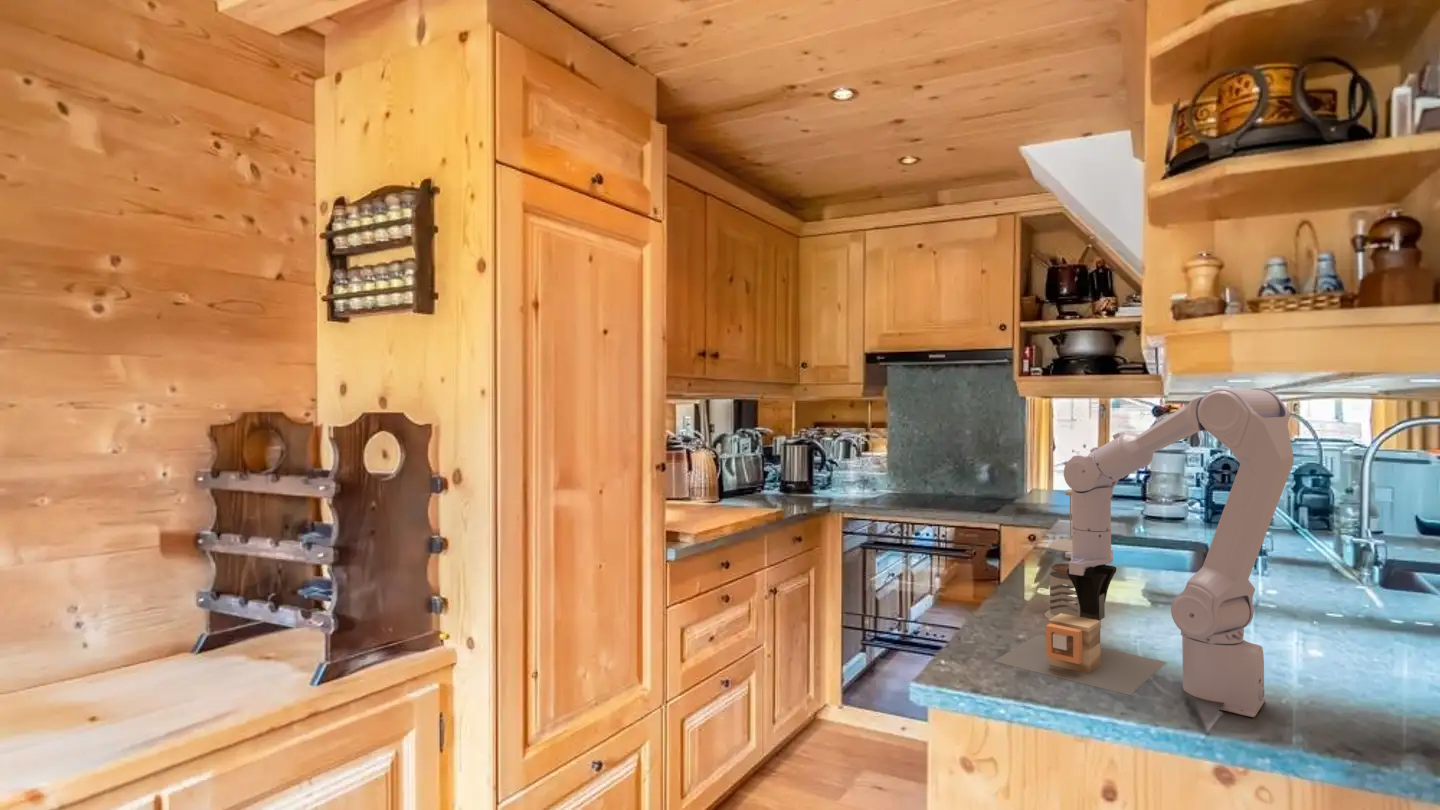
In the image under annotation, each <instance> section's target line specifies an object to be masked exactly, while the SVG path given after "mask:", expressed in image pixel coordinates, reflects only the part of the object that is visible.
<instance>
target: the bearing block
mask: <svg viewBox="0 0 1440 810" xmlns="http://www.w3.org/2000/svg"><path fill="white" fill-rule="evenodd" d="M1047 621H1048V623H1047V625H1048V624H1055V625H1060V626H1065V627H1070V628H1075V629H1080V630H1082V655H1083V662H1081V663H1080V664H1076V663H1072V662H1067V661H1063V660H1059V659H1054V658H1050V657H1049V665H1053V666H1058V667H1062V668H1066V669H1070V670H1074V671H1079V672H1083V673H1087V674H1090V673H1091V672H1093V671H1094V670H1095V669H1096V668H1098V667H1099V666H1100V665H1101V653H1100V648H1101V628H1100V621H1099V620H1094V619H1089V618H1083V617H1078V616H1073V615H1067V614H1062V613H1060V614H1058V615H1056V616H1055V617H1053V618H1051V619H1048V620H1047ZM1055 650H1056V651H1061V652H1065V653H1070V654H1073V646H1072V647H1071V648H1069V649H1068V650H1063V649H1058V648H1055Z"/></svg>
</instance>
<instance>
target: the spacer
mask: <svg viewBox="0 0 1440 810" xmlns="http://www.w3.org/2000/svg"><path fill="white" fill-rule="evenodd" d="M1054 633H1059V634H1064V635H1069V636H1073V654H1070V653H1065V652H1061V651H1056V650H1055V648H1053V634H1054ZM1045 636H1046V657H1050V658H1054V659H1059V660H1063V661H1067V662H1072V663H1076V664H1080V663H1081V662H1083V655H1082V630H1080V629H1075V628H1070V627H1065V626H1060V625H1055V624H1048V623H1047V624H1046V625H1045Z"/></svg>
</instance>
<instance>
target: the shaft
mask: <svg viewBox="0 0 1440 810" xmlns="http://www.w3.org/2000/svg"><path fill="white" fill-rule="evenodd" d="M1105 603H1106V600H1104V593H1101V592H1100V595H1099V604H1098V609H1097V613H1096V614H1095V615H1092V614H1086V613H1082V612H1081V609H1080V617H1083V618H1089V619H1094V620H1099V621H1100V629H1101V628H1102V620H1103V619H1104V618H1105V615H1106V614H1105V613H1106V612H1105V611H1106V610H1105ZM1072 646H1073V636H1069V635H1064V634H1059V633H1054V634H1053V648H1058V649H1063V650H1068V649H1069V648H1071V647H1072Z"/></svg>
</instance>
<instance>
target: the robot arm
mask: <svg viewBox="0 0 1440 810" xmlns="http://www.w3.org/2000/svg"><path fill="white" fill-rule="evenodd" d="M1291 415H1292V414H1291V411H1290V410H1289V409H1288V407H1287V406H1286V404H1285V403H1284V402H1283V401H1282V400H1281V399H1280V397H1279V396H1278V395H1277V394H1276V393H1274V392H1273V391H1271V390H1269V389H1266V388H1260V387H1259V388H1250V389H1229V388H1216V389H1213V390H1210V391H1209V392H1207V393H1206V394H1204V395H1203V396H1199V397H1196V398H1193V399H1192V400H1191V401H1189V402H1188V403H1187V404H1186V405H1184V406H1182V407H1181V408H1180V409H1178V410H1176V411H1174V412H1173V413H1172V414H1169V415H1168V416H1167V417H1165V418H1163V419H1162V420H1160V421H1158V422H1157V423H1156V424H1153V425H1152V426H1151V427H1149V428H1147V429H1146V430H1143V432H1141V433H1135V432H1131V431H1127V432H1124V431H1121V432H1119V431H1118V432H1117V433H1115V434H1113V435H1112V438H1113V439H1112V440H1111V441H1108V442H1106V443H1105V444H1103V445H1102V446H1100V447H1099V446H1095V447H1093V448H1091V449H1090V450H1089V451H1090V453H1088V455H1081V454H1080V455H1079V454H1078V455H1073V456H1072V457H1071V458H1070V459H1069V460H1068V461H1067V462H1066V463H1065V465H1064V468H1063V478H1064V482H1065V483H1066V484H1067V486H1068V487H1069V489H1072V496H1071V538H1072V552H1066V553H1064V554H1065V555H1064V557H1065V558H1069V559H1070V558H1071V561H1069V562H1068V564H1069V568H1068V569H1067V574H1068V576H1069V578H1070V579H1071V581H1072V583H1073V585H1074V588H1073V589H1074V591H1076V593H1077V595H1076V597H1078V601H1079V605H1080V609H1081V612H1082V613H1086V614H1092V615H1095V614H1096V613H1097V609H1098V604H1099V595H1100V592H1101V593H1104V600H1105V601H1106V599H1107V594H1108V591H1109V587H1110V584H1111V582H1112V580H1113V578H1114V575H1115V574H1116V572H1117V567H1116V566H1114V565H1110V564H1112V563H1113V561H1114V550H1113V549H1112V518H1111V517H1112V513H1111V511H1112V509H1111V506H1112V505H1111V504H1112V502H1111V501H1112V498H1113V496H1114V495H1113V491H1114V488H1115V486H1117V484H1118V482H1119V481H1120V480H1121V479H1123V478H1124V477H1126V476H1129V475H1131V474H1133V473H1135V472H1137V471H1138V470H1141V469H1143V468H1144V467H1146V466H1149V465H1150V464H1151V463H1152V461H1153V458H1154V453H1155V452H1158V451H1159V450H1162V449H1164V448H1166V447H1169V446H1171V445H1173V444H1175V443H1177V442H1179V441H1181V440H1184V439H1186V438H1188V437H1190V436H1192V435H1194V434H1196V433H1200V432H1208V433H1210V434H1211V435H1212V437H1214V438H1215V439H1216V440H1218V441H1219V442H1220V443H1222V445H1224V446H1225V447H1227V448H1228V449H1229V450H1230V451H1231V453H1232V454H1233V455H1234V458H1236V460H1237V461H1238V463H1239V467H1238V469H1237V472H1236V474H1235V478H1234V480H1233V483H1232V486H1231V488H1230V491H1229V494H1228V497H1227V499H1226V502H1225V505H1224V507H1223V510H1222V513H1221V516H1220V518H1219V521H1218V524H1217V527H1216V530H1215V532H1214V535H1213V537H1212V541H1211V543H1210V546H1209V548H1208V552H1207V554H1206V556H1205V560H1204V562H1203V565H1202V567H1200V569H1199V570H1198V571H1196V572H1195V573H1194V574H1193V575H1192V576H1191V577H1190V578H1189V579H1188V581H1187V582H1186V585H1185V587H1184V589H1183V590H1182V592H1180V593H1179V594H1178V595H1176V596H1175V597H1174V598H1173V600H1172V602H1171V606H1170V613H1171V618H1172V620H1173V623H1174V624H1175V625H1176V627H1177V628H1178V629H1179V630H1180V635H1181V637H1182V642H1181V643H1182V644H1181V645H1182V654H1181V655H1182V690H1183V691H1184V692H1185V693H1187V694H1189V695H1191V696H1193V697H1196V698H1199V699H1202V700H1205V701H1208V702H1209V701H1210V702H1215V703H1221V704H1222V703H1223V704H1222V706H1221V707H1220V708H1219V711H1220V710H1222V711H1225V712H1229V713H1233V714H1236V715H1237V714H1238V715H1242V716H1246V717H1249V718H1250V717H1251V718H1255V717H1256V716H1257V714H1258V712H1259V711H1260V710H1261V708H1262V707H1263V705H1264V703H1265V702H1266V698H1265V662H1264V661H1265V659H1264V658H1265V655H1264V650H1263V649H1264V648H1263V646H1262V645H1260V644H1256V643H1252V642H1249V641H1247V640H1245V639H1244V636H1245V632H1244V631H1245V629H1244V628H1246V627H1248V626H1249V625H1250V624H1251V622H1252V621H1253V618H1254V615H1255V614H1254V611H1255V610H1254V606H1253V597H1254V594H1255V591H1256V588H1255V586H1254V585H1253V584H1252V583H1251V582H1250V580H1249V578H1250V576H1251V574H1252V571H1253V569H1254V566H1255V564H1256V561H1257V558H1258V556H1259V553H1260V550H1261V548H1262V545H1263V543H1264V540H1265V538H1266V535H1267V532H1268V529H1269V527H1270V524H1271V522H1272V519H1273V517H1274V515H1275V512H1276V509H1277V507H1278V505H1279V501H1280V499H1281V496H1282V494H1283V491H1284V489H1285V487H1286V484H1287V481H1288V478H1289V476H1290V474H1291V471H1292V468H1293V466H1294V461H1295V457H1294V451H1293V447H1292V441H1291V435H1290V429H1289V421H1290V418H1291ZM1108 564H1109V565H1108Z"/></svg>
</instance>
